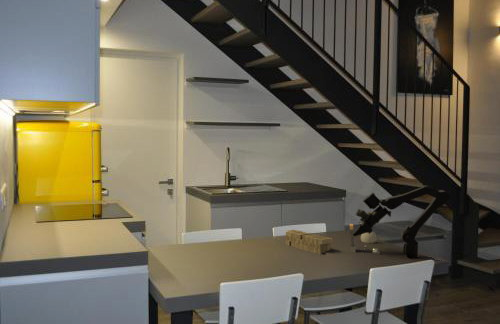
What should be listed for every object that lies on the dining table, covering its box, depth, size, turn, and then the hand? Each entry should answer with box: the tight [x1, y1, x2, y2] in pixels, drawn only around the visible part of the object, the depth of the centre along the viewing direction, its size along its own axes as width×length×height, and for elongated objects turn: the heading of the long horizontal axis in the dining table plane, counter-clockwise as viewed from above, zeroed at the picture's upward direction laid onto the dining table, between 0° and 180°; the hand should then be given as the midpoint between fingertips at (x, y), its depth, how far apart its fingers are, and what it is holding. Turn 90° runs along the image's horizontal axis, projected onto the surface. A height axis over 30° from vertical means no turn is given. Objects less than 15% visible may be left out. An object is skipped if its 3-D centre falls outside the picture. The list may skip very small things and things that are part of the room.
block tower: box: [285, 229, 334, 255], centre depth 277 cm, size 8×8×29 cm
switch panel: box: [349, 243, 381, 256], centre depth 268 cm, size 20×13×4 cm, turn 80°
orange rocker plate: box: [349, 223, 356, 247], centre depth 269 cm, size 2×5×13 cm, turn 170°
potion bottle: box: [360, 211, 378, 244], centre depth 292 cm, size 9×9×18 cm
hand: (353, 235), depth 269 cm, fingers closed, pressing on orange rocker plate
